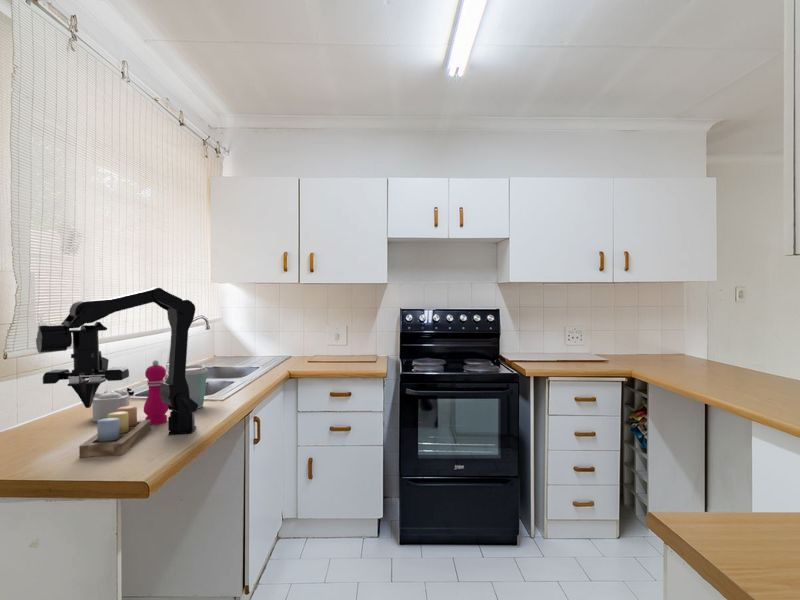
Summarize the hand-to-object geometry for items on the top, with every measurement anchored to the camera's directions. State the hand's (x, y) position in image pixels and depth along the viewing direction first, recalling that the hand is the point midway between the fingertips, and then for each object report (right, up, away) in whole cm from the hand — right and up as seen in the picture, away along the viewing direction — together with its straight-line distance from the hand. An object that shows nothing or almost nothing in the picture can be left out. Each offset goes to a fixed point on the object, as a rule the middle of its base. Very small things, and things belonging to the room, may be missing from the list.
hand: (88, 407), depth 130 cm
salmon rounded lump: (+2, -8, +15) cm, 17 cm away
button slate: (+5, -9, +1) cm, 10 cm away
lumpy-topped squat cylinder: (-15, -11, +37) cm, 41 cm away
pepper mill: (+4, -11, +29) cm, 31 cm away
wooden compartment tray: (+4, -11, +8) cm, 14 cm away
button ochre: (+4, -8, +8) cm, 12 cm away
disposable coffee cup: (+7, -11, +49) cm, 51 cm away
